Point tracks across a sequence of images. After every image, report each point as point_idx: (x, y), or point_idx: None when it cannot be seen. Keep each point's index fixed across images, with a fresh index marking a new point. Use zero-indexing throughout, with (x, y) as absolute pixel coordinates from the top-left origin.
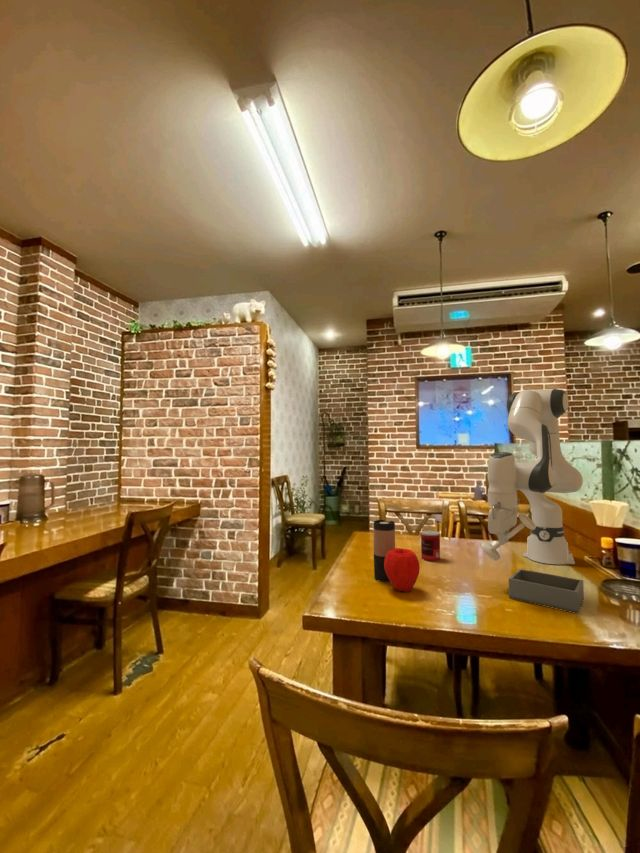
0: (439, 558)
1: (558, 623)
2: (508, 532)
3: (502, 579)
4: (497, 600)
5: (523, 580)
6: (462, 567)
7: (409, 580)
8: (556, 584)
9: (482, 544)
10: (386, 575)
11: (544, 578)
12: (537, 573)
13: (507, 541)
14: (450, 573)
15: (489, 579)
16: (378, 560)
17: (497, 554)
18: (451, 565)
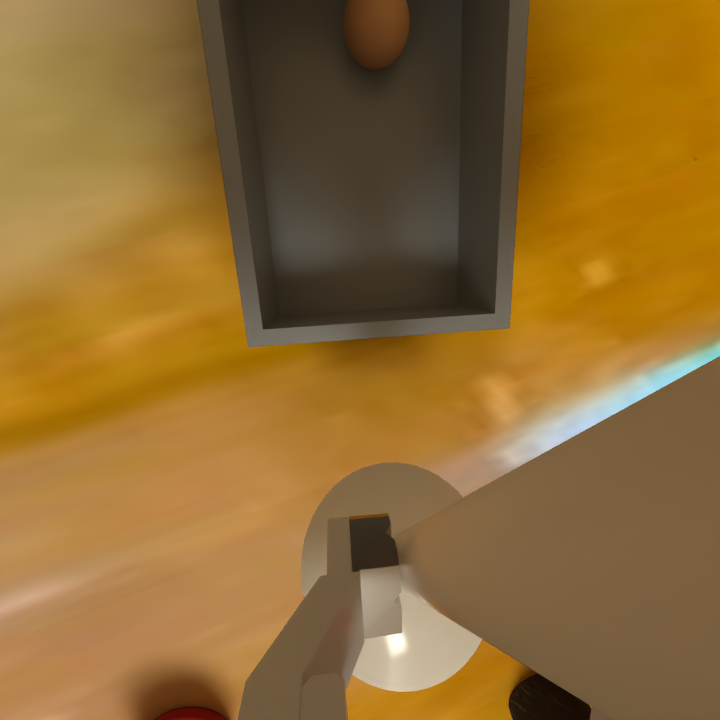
0: (174, 718)
1: (639, 48)
2: (307, 658)
3: (220, 425)
4: (519, 342)
5: (274, 309)
6: (193, 608)
7: None
8: (244, 109)
9: (465, 654)
10: (587, 705)
11: (248, 180)
12: (249, 222)
13: (358, 520)
14: None
15: (270, 465)
16: None
17: (360, 500)
18: (206, 647)
